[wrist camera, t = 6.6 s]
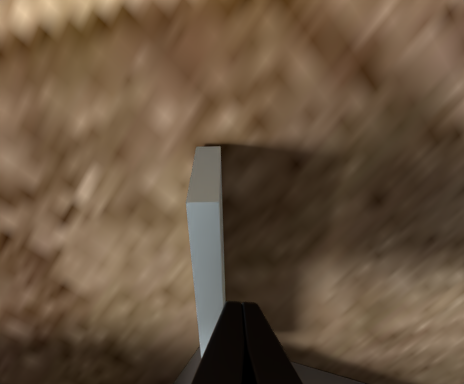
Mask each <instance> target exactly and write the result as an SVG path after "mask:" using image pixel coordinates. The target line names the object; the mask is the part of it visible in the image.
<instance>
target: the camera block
mask: <svg viewBox="0 0 464 384" xmlns="http://www.w3.org/2000/svg"><path fill="white" fill-rule="evenodd" d="M200 361H201V350H200V347H199V348H198V350H197V351H196V353H195V354H194V355H193V357H192V358H191V359H190V361H189V362H188V364H187V365H186V366H185V368H184V369H183V371H182V372H181V373H180V375H179V376H178V378H177V379H176V380H175V382H174V383H173V384H191V382H192V380H193V377H194V375H195V373H196V370H197V368H198V365H199V363H200ZM291 363H292V365H293V366H294V368H295V370H296V372H297V373H298V375H299V377H300V378H301V380H302V382H303V384H365V383H362V382H358V381H355V380H351V379H348V378H345V377H341V376H338V375H334V374H331V373H327V372H324V371H321V370H317V369H314V368H310V367H307V366H304V365H300V364H297V363H293V362H291Z"/></svg>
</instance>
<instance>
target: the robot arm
mask: <svg viewBox="0 0 464 384" xmlns="http://www.w3.org/2000/svg"><path fill="white" fill-rule="evenodd" d="M191 384H303V382H302V380H301V378H300V377H299V375H298V373H297V372H296V370H295V368H294V366H293V365H292V363H291V361H290V359H289V358H288V356H287V354H286V352H285V351H284V349H283V347H282V346H281V344H280V342H279V340H278V339H277V337H276V335H275V333H274V332H273V330H272V328H271V326H270V325H269V323H268V321H267V319H266V318H265V316H264V314H263V313H262V311H261V309H260V307H259V306H258V304H257V303H254V302H242V304H241V303H240V302H239V301H226V302H225V304H224V307H223V309H222V311H221V314H220V316H219V319H218V321H217V323H216V326H215V328H214V330H213V333H212V335H211V337H210V340H209V342H208V344H207V347H206V349H205V351H204V354H203V356H202V358H201V361H200V363H199V365H198V368H197V370H196V373H195V375H194V377H193V380H192V382H191Z"/></svg>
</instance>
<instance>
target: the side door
mask: <svg viewBox="0 0 464 384" xmlns="http://www.w3.org/2000/svg"><path fill="white" fill-rule="evenodd" d="M186 208H187V218H188V228H189V239H190V249H191V259H192V269H193V279H194V289H195V299H196V310H197V320H198V330H199V340H200V350H201V358H202V356H203V354H204V351H205V349H206V347H207V344H208V342H209V340H210V337H211V335H212V333H213V330H214V328H215V326H216V323H217V321H218V319H219V316H220V314H221V311H222V309H223V307H224V304H225V271H224V239H223V207H222V175H221V146H212V147H196V151H195V157H194V162H193V168H192V173H191V178H190V184H189V189H188V194H187V200H186Z"/></svg>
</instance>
